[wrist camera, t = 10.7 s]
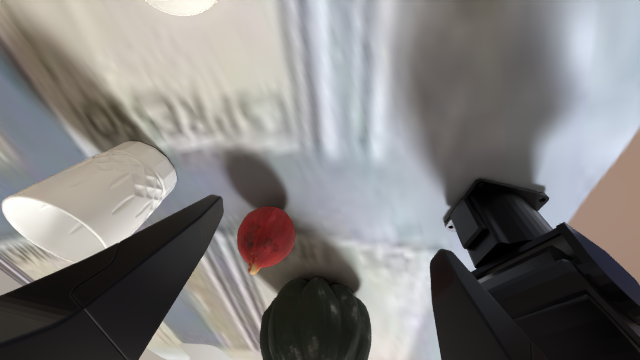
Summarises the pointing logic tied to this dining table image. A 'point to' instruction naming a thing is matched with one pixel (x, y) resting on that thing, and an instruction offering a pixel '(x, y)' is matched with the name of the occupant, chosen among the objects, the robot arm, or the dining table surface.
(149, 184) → the white cup
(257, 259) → the onion
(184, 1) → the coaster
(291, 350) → the squash
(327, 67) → the dining table surface
